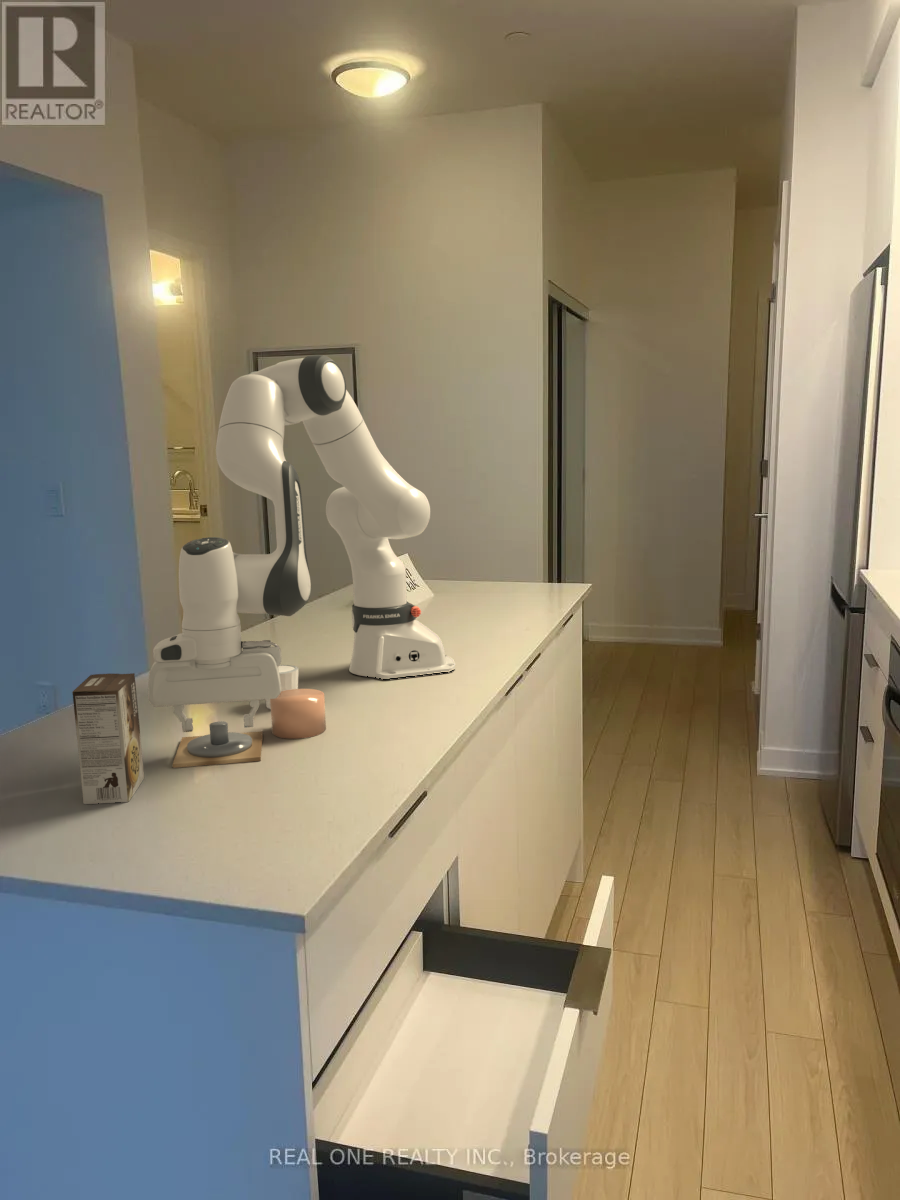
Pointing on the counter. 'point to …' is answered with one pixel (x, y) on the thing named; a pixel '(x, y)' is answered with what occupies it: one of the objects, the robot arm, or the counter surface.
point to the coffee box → (108, 738)
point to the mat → (247, 756)
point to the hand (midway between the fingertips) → (218, 728)
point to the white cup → (287, 679)
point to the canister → (298, 713)
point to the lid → (219, 742)
